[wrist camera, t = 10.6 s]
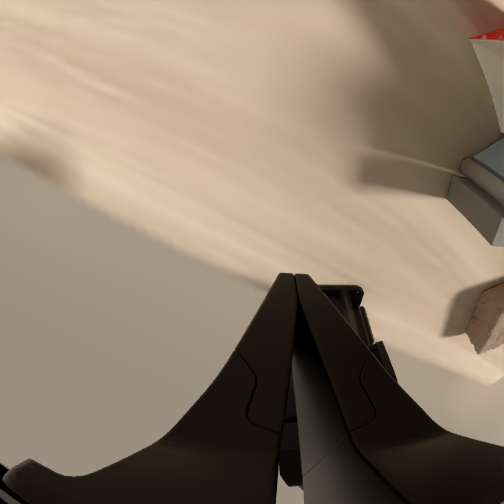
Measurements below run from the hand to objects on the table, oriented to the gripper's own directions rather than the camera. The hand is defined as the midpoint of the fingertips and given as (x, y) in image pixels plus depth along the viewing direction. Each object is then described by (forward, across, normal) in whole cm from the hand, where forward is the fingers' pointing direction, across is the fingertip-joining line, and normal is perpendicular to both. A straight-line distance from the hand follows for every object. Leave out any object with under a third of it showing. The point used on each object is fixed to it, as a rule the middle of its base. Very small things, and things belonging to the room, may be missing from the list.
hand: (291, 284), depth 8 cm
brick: (+13, -33, +12) cm, 37 cm away
